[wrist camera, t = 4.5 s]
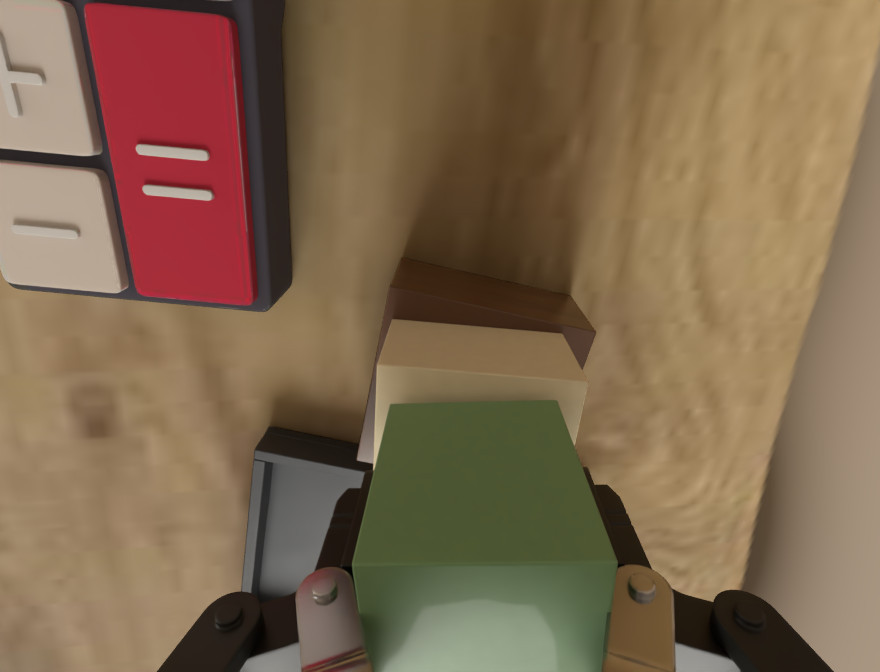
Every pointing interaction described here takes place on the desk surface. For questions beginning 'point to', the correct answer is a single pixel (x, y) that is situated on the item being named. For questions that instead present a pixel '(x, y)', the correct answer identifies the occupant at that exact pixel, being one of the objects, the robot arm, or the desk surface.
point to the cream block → (475, 369)
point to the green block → (482, 544)
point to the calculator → (145, 150)
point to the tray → (293, 507)
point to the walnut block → (472, 315)
